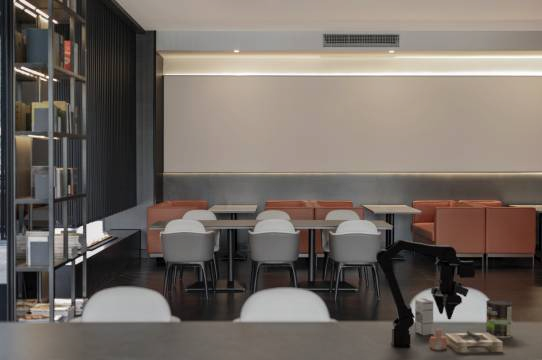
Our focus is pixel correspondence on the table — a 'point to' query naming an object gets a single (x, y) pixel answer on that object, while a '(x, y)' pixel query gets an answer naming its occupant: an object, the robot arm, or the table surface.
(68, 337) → the table surface
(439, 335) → the tee shaped peg
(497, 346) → the frame with crossbar
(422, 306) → the syrup box
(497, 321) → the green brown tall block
